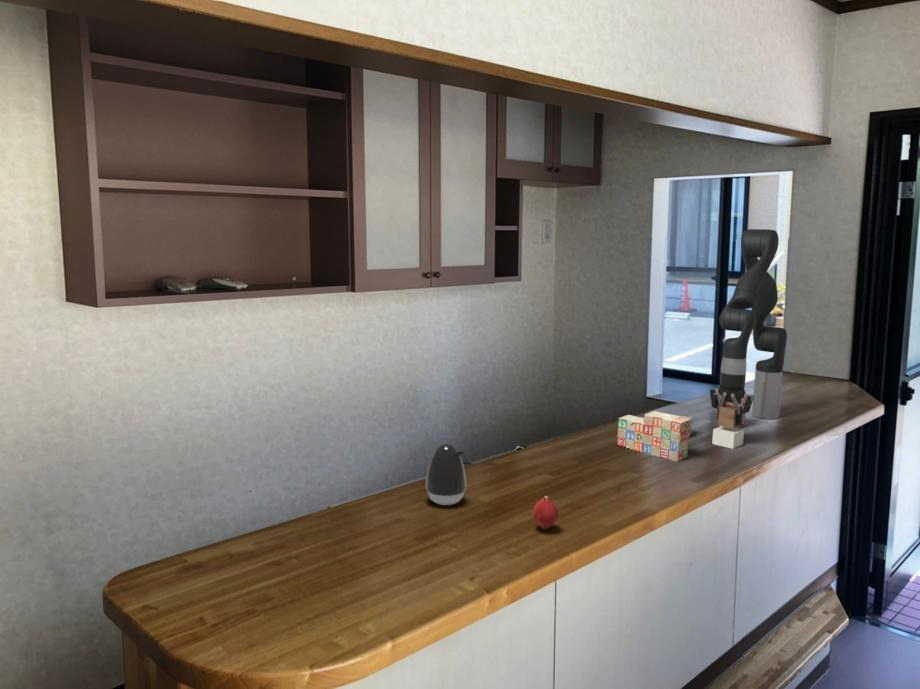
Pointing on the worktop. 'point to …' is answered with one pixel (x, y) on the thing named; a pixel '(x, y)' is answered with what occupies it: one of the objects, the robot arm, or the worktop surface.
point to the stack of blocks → (655, 435)
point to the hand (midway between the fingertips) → (729, 423)
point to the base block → (728, 437)
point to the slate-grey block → (690, 422)
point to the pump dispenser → (446, 475)
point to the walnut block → (727, 416)
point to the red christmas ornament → (545, 513)
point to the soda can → (743, 414)
